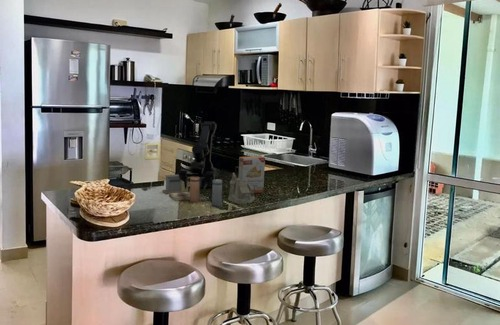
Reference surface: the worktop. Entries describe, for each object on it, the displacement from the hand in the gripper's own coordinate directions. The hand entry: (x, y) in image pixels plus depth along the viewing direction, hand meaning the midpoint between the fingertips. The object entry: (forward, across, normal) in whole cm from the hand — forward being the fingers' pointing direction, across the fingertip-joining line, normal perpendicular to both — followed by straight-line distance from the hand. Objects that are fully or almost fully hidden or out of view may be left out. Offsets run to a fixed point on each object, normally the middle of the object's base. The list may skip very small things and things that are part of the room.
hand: (194, 189), depth 234 cm
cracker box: (-15, +27, +24) cm, 39 cm away
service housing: (-8, -16, +18) cm, 25 cm away
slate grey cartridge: (+8, +13, +2) cm, 15 cm away
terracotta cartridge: (+4, 0, +6) cm, 7 cm away
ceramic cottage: (-2, +24, +12) cm, 27 cm away
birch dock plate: (-1, -8, +11) cm, 13 cm away
